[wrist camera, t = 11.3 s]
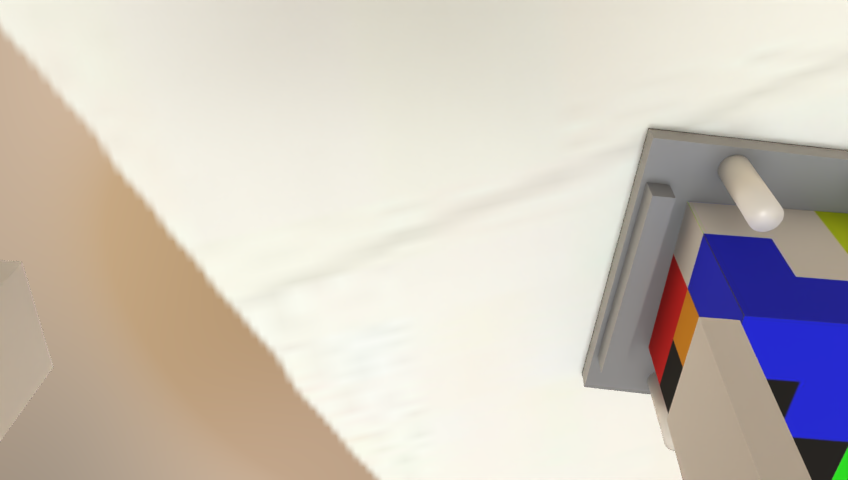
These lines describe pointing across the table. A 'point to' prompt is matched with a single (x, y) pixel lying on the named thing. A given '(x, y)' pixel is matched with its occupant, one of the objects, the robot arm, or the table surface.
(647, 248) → the tray
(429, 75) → the table surface
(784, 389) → the puzzle toy
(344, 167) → the table surface
